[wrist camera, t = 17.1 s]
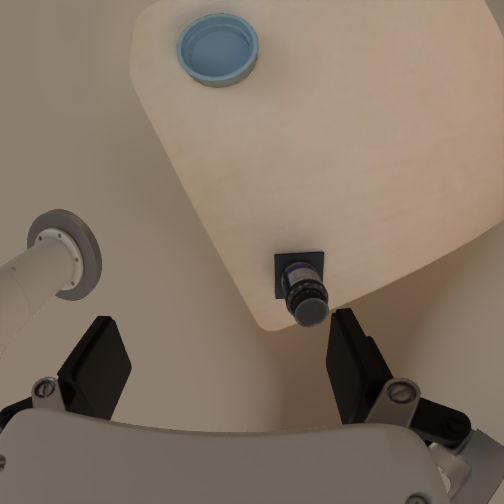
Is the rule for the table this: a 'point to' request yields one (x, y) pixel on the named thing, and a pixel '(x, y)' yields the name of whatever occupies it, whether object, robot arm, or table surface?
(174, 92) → the table surface
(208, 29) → the bowl
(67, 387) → the robot arm
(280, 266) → the mat
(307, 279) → the pill bottle
